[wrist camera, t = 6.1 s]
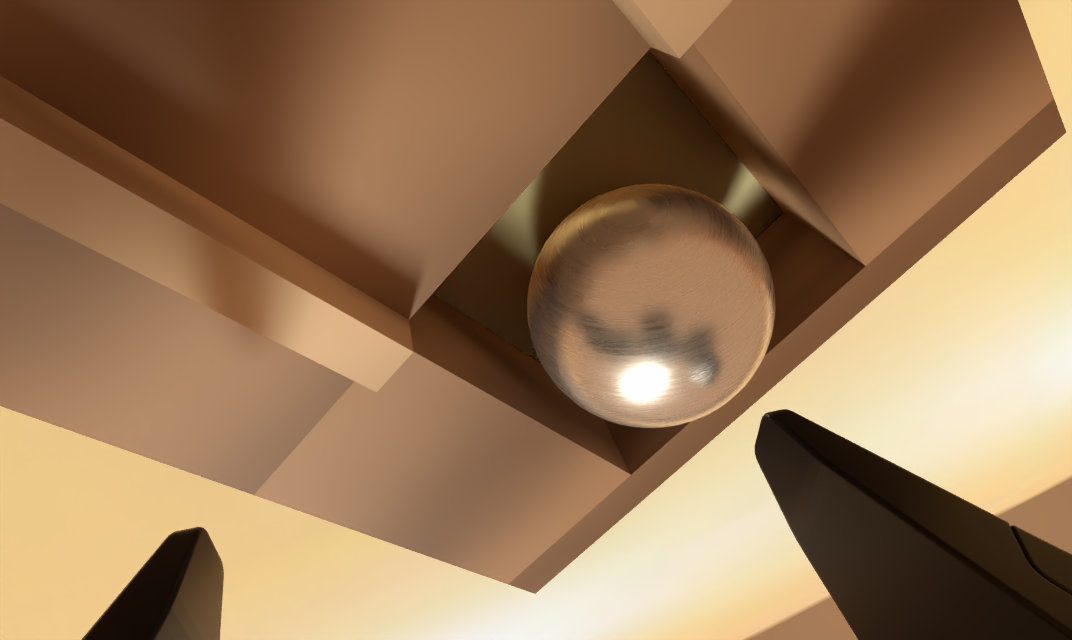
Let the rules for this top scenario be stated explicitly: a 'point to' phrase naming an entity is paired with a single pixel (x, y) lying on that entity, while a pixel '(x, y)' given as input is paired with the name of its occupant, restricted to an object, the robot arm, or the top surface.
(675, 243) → the steel ball
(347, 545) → the top surface
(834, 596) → the robot arm
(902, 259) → the hole deck
